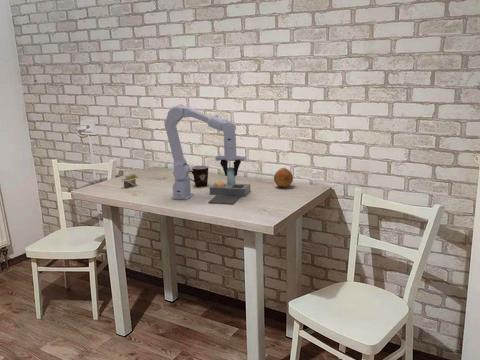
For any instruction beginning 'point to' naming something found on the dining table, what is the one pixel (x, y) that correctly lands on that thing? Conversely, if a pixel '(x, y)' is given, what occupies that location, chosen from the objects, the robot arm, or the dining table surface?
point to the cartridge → (230, 177)
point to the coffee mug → (200, 175)
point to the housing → (230, 190)
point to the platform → (130, 181)
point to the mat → (224, 199)
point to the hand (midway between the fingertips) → (231, 175)
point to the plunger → (220, 184)
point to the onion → (283, 177)
